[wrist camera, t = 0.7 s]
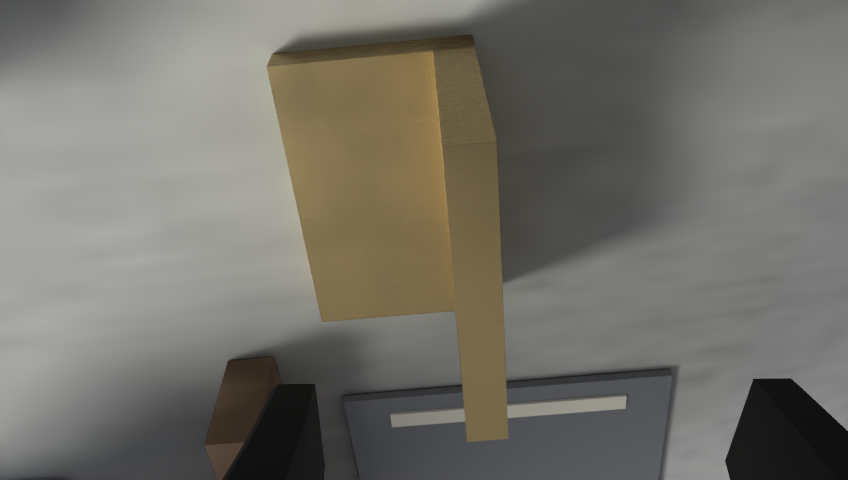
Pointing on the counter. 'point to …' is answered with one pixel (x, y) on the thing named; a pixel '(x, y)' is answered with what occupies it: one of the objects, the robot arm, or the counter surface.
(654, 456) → the mat
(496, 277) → the bronze bracket
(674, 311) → the counter surface
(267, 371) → the corner walls
